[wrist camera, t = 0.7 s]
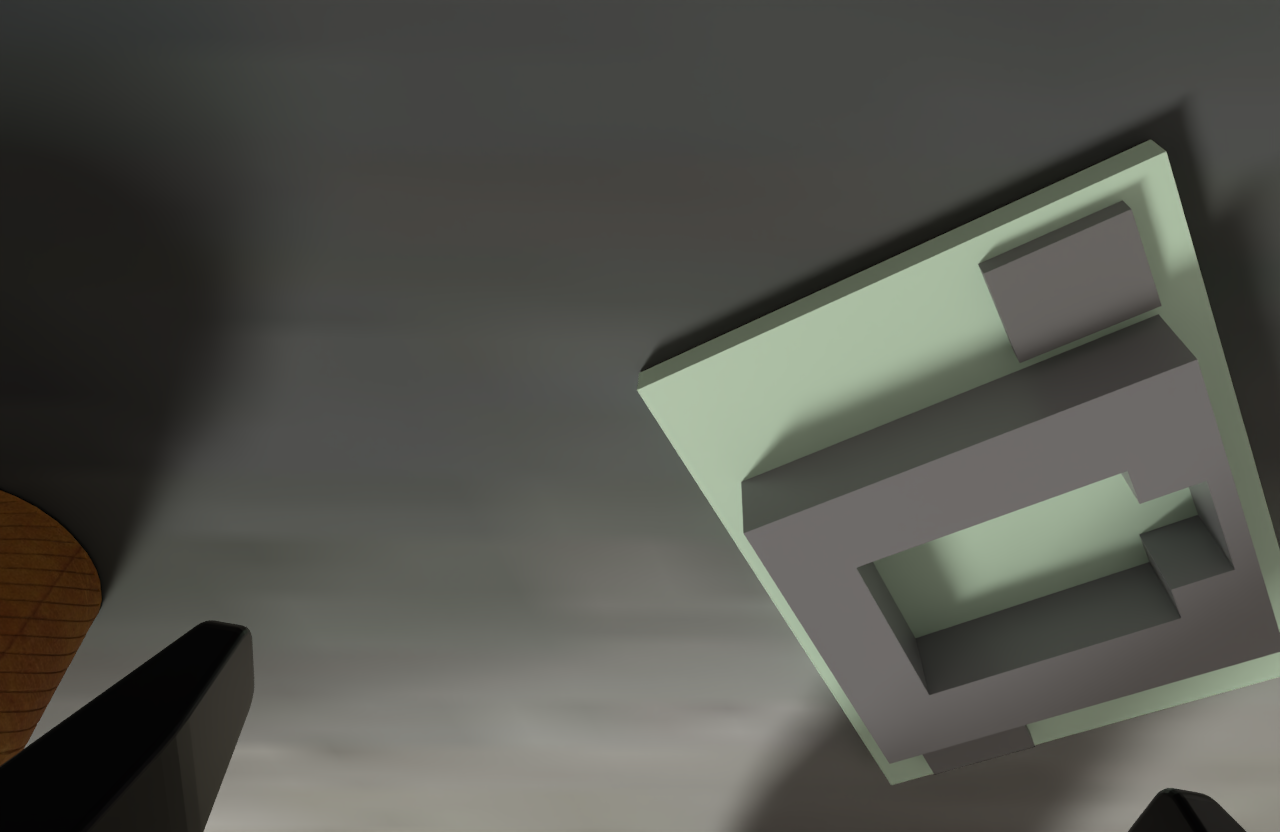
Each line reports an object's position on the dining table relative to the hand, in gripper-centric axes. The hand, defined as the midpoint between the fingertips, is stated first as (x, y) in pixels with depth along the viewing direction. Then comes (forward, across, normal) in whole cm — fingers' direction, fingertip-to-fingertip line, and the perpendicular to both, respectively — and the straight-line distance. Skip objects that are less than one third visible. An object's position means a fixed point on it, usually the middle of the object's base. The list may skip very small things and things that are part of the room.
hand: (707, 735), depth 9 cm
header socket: (+14, -9, +7) cm, 18 cm away
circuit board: (+14, -9, +7) cm, 18 cm away
